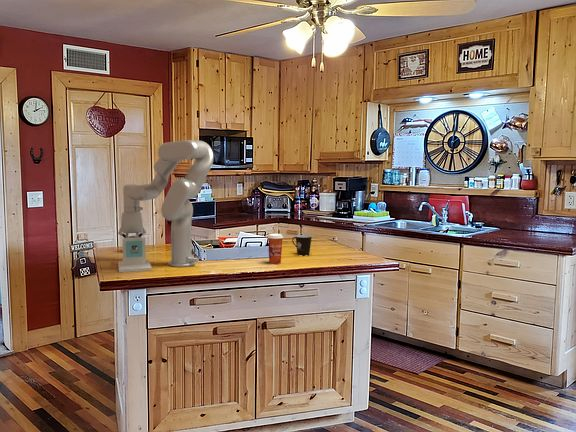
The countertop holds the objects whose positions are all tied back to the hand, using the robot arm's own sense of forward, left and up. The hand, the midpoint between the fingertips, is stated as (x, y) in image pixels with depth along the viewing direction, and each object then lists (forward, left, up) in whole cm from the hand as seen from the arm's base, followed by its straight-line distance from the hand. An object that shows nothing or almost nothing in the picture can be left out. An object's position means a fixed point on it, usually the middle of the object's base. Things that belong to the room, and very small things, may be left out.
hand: (132, 246), depth 259 cm
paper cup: (-68, -18, -7) cm, 71 cm away
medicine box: (+11, -19, -7) cm, 23 cm away
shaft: (-4, +6, +1) cm, 8 cm away
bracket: (-9, +13, -7) cm, 17 cm away
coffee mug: (-75, -44, -7) cm, 87 cm away
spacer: (-10, +15, -2) cm, 18 cm away
